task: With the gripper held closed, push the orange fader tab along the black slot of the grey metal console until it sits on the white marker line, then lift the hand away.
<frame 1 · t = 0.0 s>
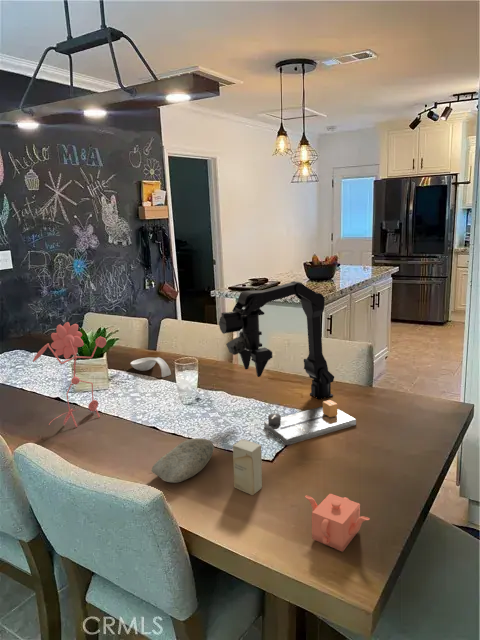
hand: (252, 372, 164), 15 cm above the table, fingers open, 9 cm apart
skincare box: (248, 488, 123), on the table
fader: (330, 408, 158), point 4 cm above the table, slide at 0.0 cm
dial: (274, 419, 154), point 3 cm above the table, hinge at 40.0°
rock: (187, 471, 133), on the table
spoon rest: (151, 371, 217), on the table
console: (309, 426, 155), on the table
figurine: (77, 418, 171), on the table
teapot: (336, 537, 104), on the table
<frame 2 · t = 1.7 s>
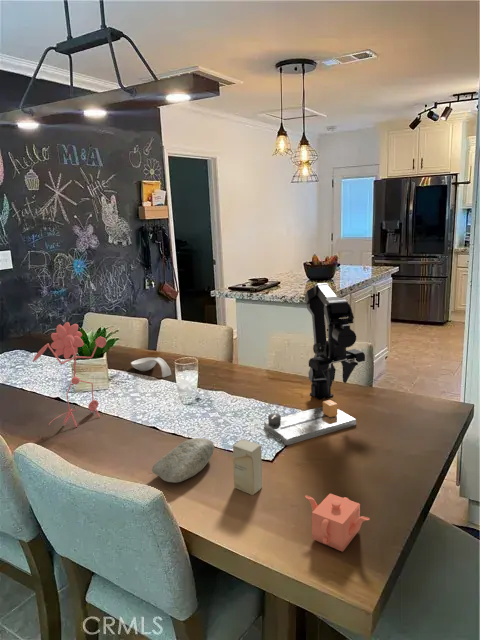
hand: (337, 384, 157), 12 cm above the table, fingers open, 6 cm apart
nothing on the table moved.
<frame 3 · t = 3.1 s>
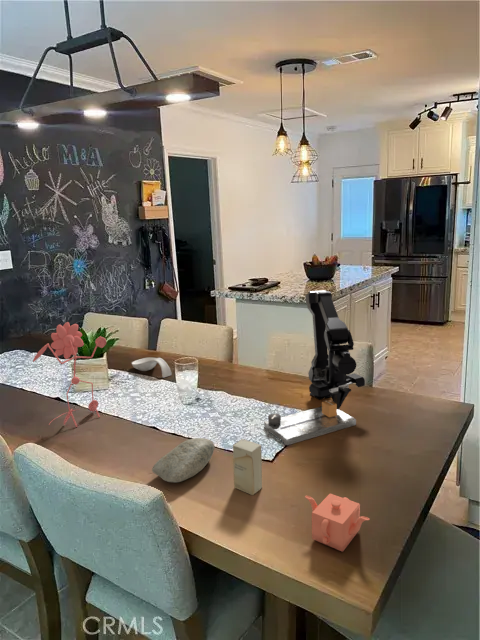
hand: (337, 408, 159), 3 cm above the table, fingers closed
fader: (329, 408, 158), point 4 cm above the table, slide at 0.3 cm, touching gripper
everything else where it was.
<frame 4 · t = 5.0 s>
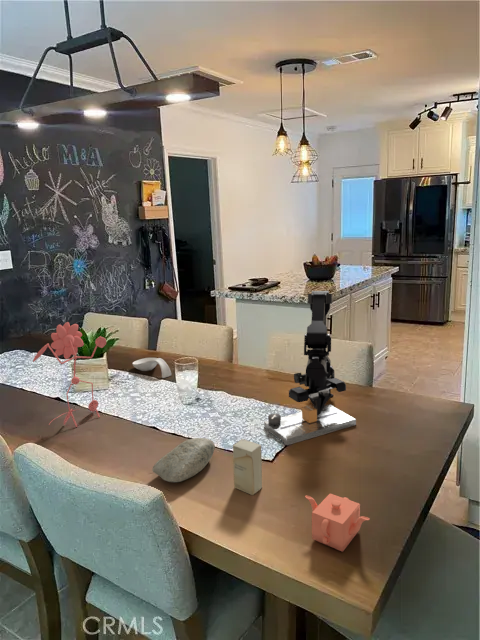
hand: (318, 414, 156), 3 cm above the table, fingers closed
fader: (309, 413, 154), point 4 cm above the table, slide at 8.1 cm, touching gripper
everything else where it was.
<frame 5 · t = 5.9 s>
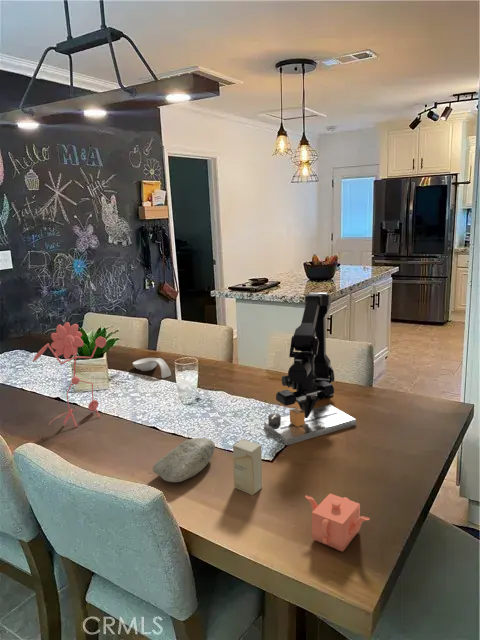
hand: (305, 417, 154), 3 cm above the table, fingers closed
fader: (297, 417, 152), point 4 cm above the table, slide at 12.8 cm, touching gripper
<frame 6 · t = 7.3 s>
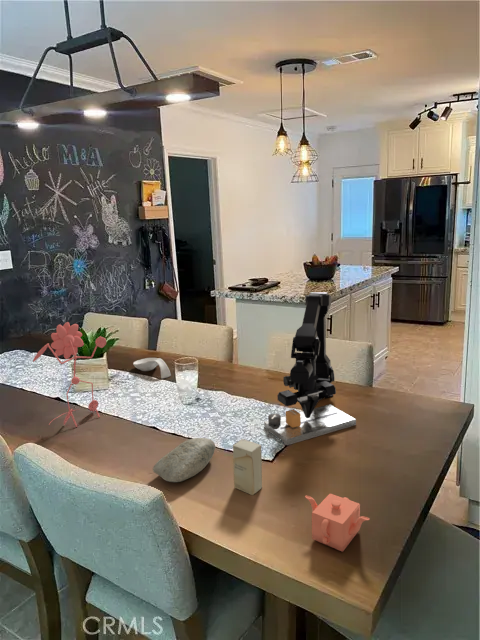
hand: (307, 417, 155), 3 cm above the table, fingers closed
fader: (293, 418, 152), point 4 cm above the table, slide at 14.3 cm
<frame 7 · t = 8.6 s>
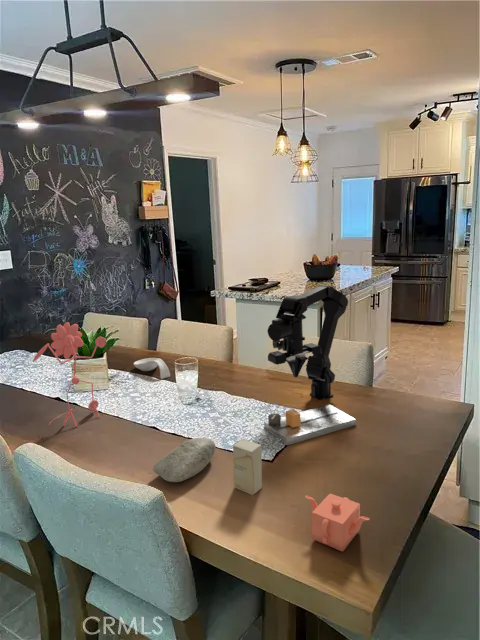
hand: (295, 376, 167), 12 cm above the table, fingers closed
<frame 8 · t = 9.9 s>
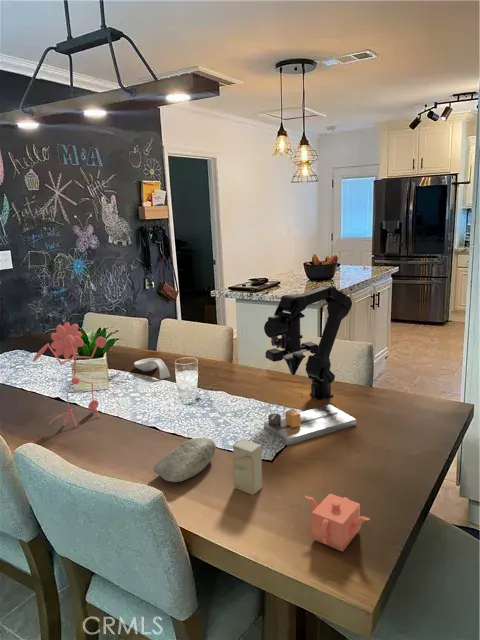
hand: (293, 374, 168), 12 cm above the table, fingers closed
at the end: fader slide at 14.3 cm; fader touching nothing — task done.
